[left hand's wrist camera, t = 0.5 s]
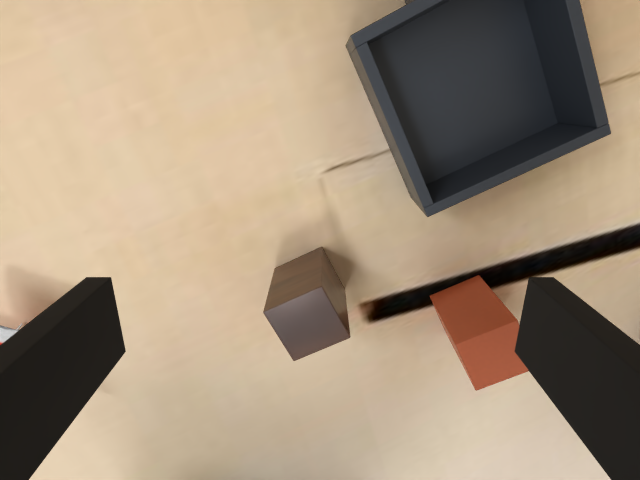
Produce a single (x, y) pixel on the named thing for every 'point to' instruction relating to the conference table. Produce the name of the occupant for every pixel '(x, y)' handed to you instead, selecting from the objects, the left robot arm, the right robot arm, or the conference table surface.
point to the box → (479, 91)
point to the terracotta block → (480, 331)
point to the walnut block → (307, 305)
